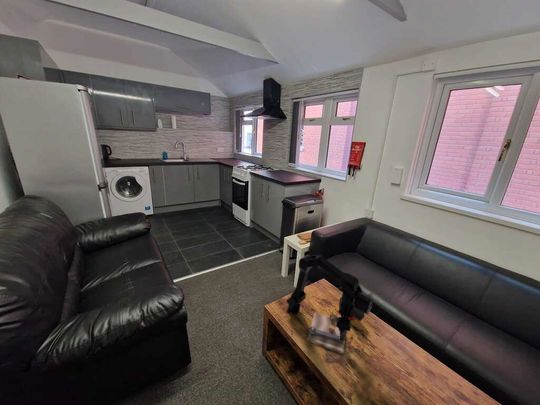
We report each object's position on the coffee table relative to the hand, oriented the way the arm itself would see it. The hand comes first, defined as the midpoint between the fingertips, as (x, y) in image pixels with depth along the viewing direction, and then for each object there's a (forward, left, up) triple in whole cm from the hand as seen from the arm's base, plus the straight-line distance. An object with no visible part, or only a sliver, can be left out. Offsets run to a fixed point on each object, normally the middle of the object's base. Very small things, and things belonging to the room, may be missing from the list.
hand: (342, 325), depth 110 cm
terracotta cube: (-4, +5, -10) cm, 12 cm away
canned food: (+4, +22, -12) cm, 25 cm away
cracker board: (-6, +4, -12) cm, 14 cm away
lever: (-7, -1, -10) cm, 12 cm away
